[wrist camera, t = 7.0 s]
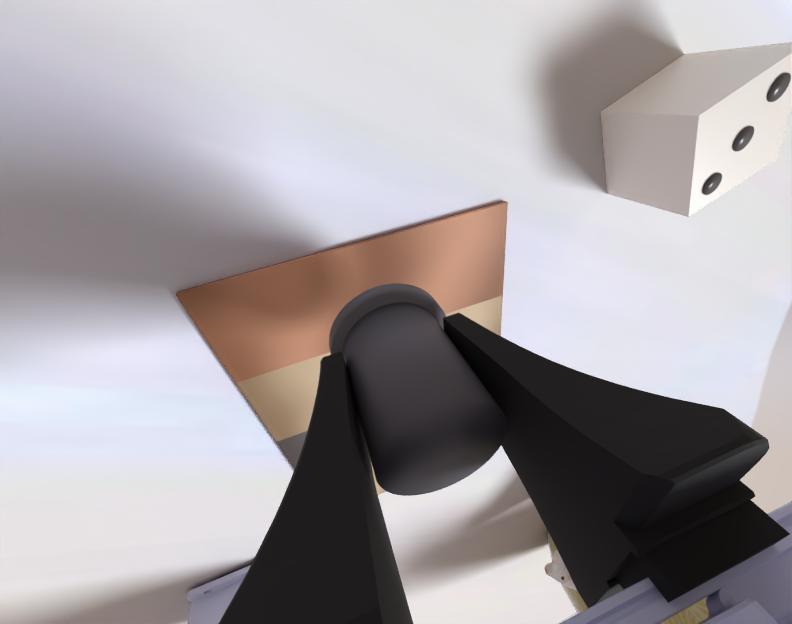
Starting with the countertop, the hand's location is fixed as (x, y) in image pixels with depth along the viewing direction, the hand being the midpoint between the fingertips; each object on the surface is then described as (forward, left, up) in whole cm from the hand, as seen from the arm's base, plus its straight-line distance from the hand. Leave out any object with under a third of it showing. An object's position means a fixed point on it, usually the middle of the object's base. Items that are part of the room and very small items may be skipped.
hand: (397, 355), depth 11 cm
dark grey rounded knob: (0, 0, -1) cm, 1 cm away
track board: (0, -8, -4) cm, 9 cm away
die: (+14, +4, -5) cm, 15 cm away
